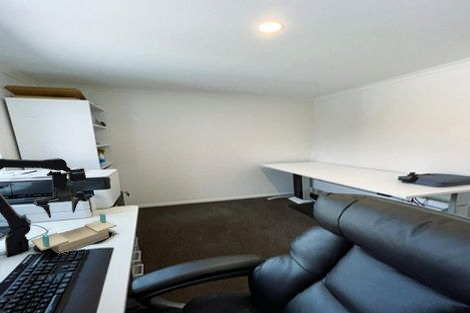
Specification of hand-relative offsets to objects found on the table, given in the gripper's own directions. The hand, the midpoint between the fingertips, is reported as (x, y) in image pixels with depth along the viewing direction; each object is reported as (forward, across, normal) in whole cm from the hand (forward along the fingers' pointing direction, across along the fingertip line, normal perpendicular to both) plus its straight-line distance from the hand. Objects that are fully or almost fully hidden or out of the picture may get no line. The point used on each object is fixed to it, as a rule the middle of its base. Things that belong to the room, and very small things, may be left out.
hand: (62, 215), depth 104 cm
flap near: (+8, -7, -8) cm, 14 cm away
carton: (+12, +4, -8) cm, 15 cm away
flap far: (+8, +13, -8) cm, 18 cm away
